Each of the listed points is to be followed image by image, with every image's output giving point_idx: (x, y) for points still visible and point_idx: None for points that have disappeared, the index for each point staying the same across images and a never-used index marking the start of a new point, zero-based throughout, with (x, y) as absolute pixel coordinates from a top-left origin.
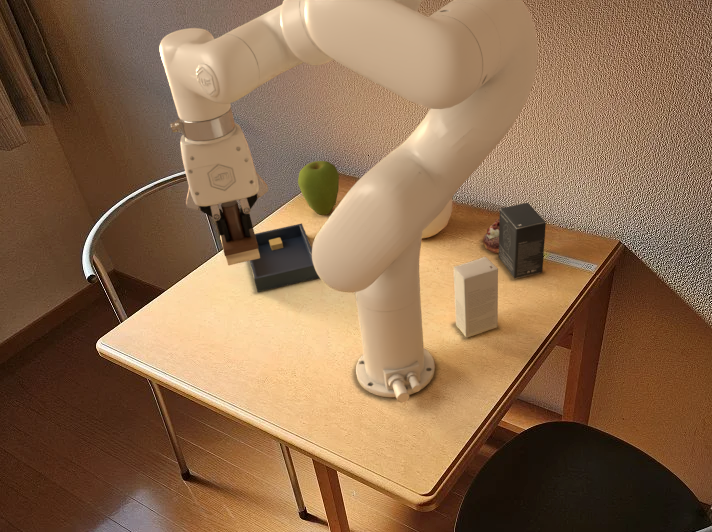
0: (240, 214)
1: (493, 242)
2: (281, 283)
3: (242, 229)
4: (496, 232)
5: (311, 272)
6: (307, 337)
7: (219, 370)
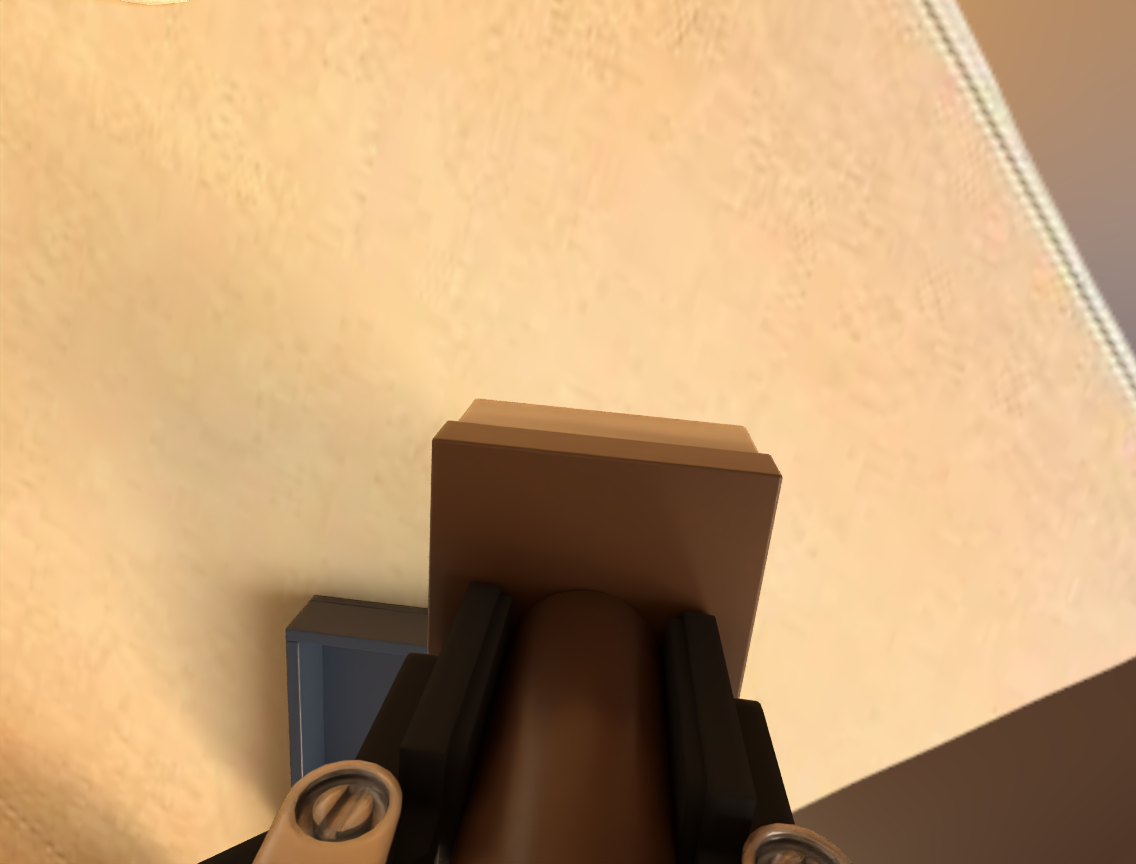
0: (458, 804)
1: None
2: None
3: (516, 659)
4: None
5: (330, 615)
6: (446, 241)
7: (856, 194)
